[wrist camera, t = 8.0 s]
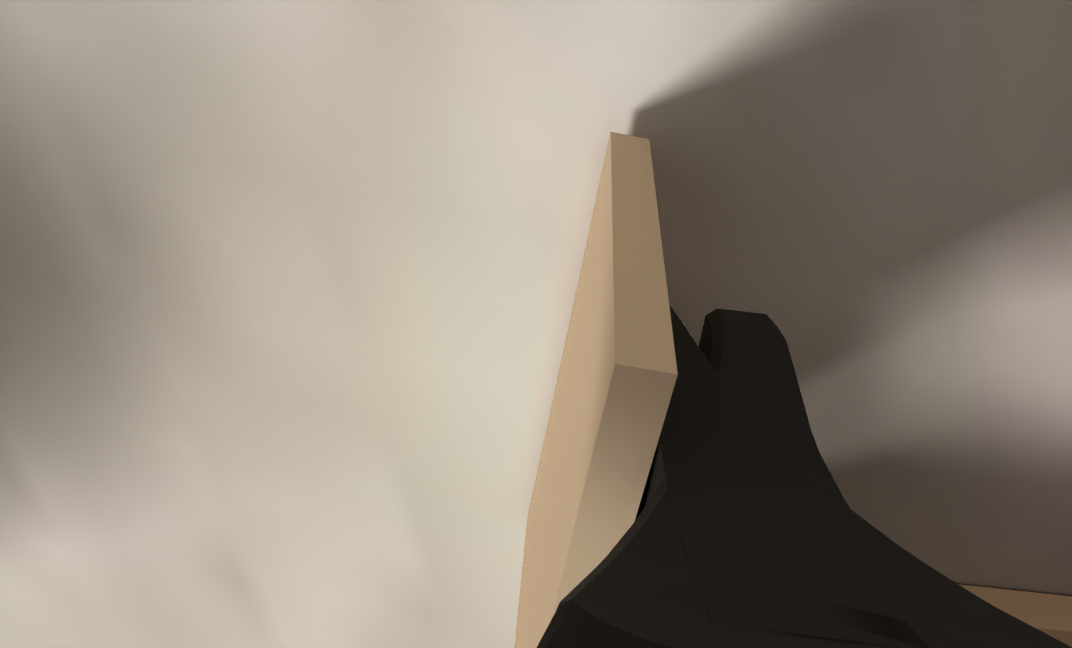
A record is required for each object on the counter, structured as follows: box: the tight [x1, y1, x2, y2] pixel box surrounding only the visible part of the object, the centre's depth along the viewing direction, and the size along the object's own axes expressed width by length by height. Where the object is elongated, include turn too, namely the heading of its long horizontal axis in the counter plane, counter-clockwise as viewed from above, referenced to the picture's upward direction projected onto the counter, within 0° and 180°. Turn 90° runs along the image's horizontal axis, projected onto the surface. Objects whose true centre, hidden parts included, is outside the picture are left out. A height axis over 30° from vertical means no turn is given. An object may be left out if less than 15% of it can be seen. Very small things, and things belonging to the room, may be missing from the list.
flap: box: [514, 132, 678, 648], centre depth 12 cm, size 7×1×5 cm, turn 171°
